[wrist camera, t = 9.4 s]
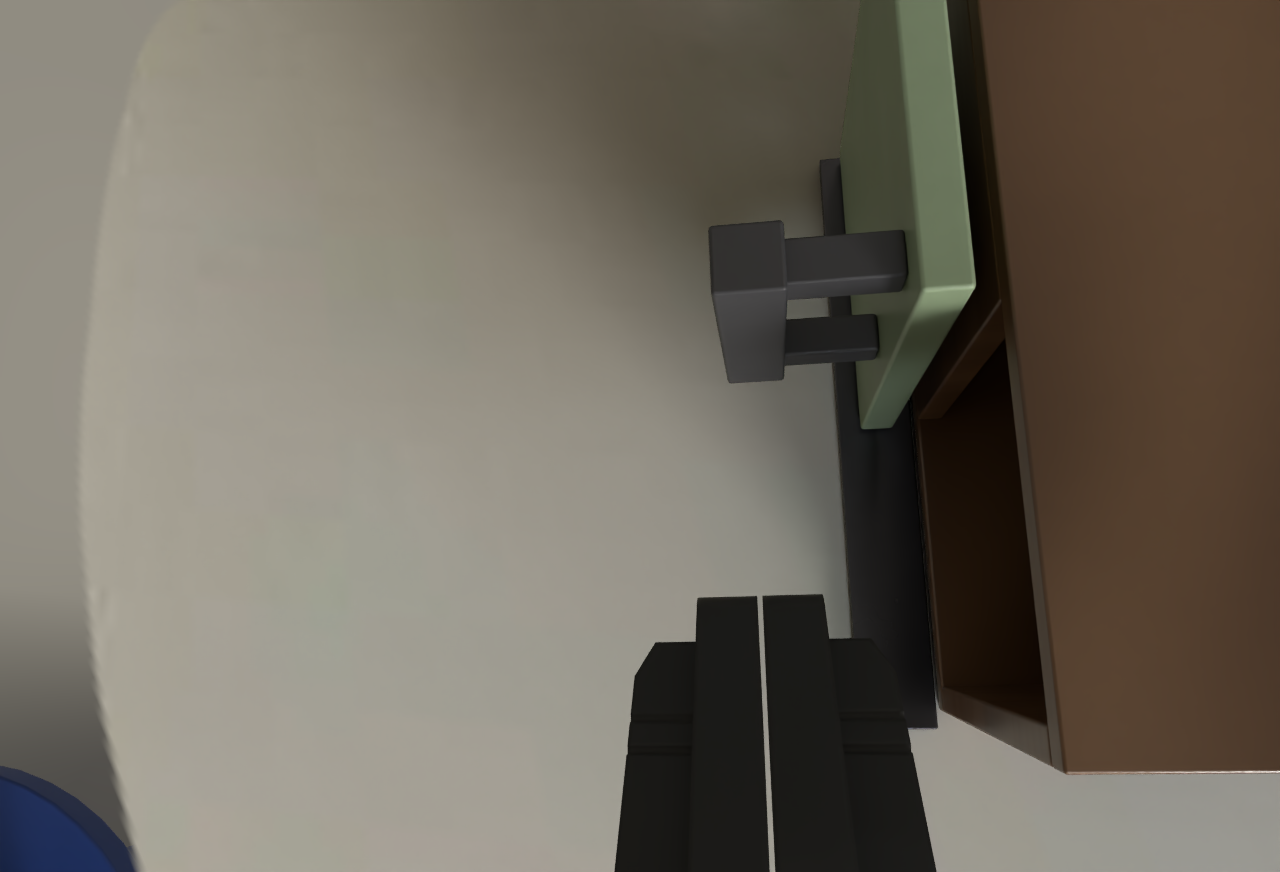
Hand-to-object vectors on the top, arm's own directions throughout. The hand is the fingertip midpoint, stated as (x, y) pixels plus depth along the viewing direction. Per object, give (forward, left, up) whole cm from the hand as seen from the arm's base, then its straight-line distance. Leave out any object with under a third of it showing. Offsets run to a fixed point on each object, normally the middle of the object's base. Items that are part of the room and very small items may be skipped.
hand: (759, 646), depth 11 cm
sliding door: (+6, +7, -12) cm, 15 cm away
